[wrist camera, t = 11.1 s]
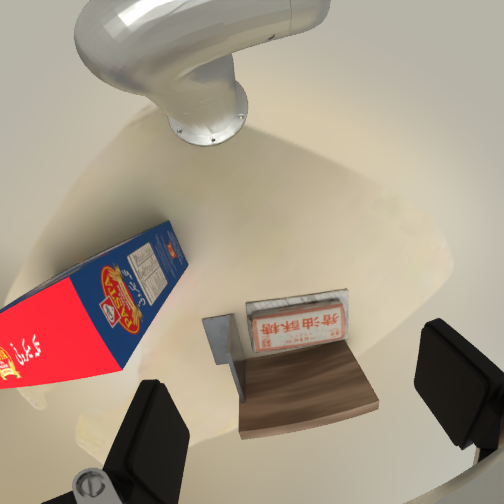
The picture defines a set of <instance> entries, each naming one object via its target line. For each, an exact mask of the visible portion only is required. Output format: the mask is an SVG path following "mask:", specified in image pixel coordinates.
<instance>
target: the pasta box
mask: <svg viewBox="0 0 504 504" xmlns="http://www.w3.org/2000/svg"><path fill="white" fill-rule="evenodd" d="M187 267H188V263H187V261H186V259H185V256H184V254H183V252H182V250H181V247H180V245H179V243H178V240H177V238H176V236H175V233H174V231H173V229H172V226H171V224H170V221H167V222H164V223H162V224H160V225H158V226H155V227H153V228H151V229H149V230H147V231H144V232H142V233H140V234H138V235H136V236H134V237H131V238H129V239H127V240H125V241H123V242H121V243H119V244H117V245H115V246H112V247H110V248H108V249H106V250H104V251H102V252H100V253H98V254H96V255H94V256H92V257H90V258H88V259H86V260H84V261H82V262H80V263H78V264H77V265H75V266H73V267H71V268H69V269H67V270H65V271H63V272H61V273H59V274H58V275H56V276H54V277H52V278H51V279H49V280H47V281H45V282H44V283H42V284H40V285H39V286H37V287H35V288H34V289H32V290H31V291H29V292H27V293H26V294H24V295H22V296H21V297H19V298H18V299H16V300H15V301H13V302H11V303H10V304H8V305H7V306H5V307H4V308H2V309H1V310H0V389H4V388H15V387H25V386H34V385H42V384H49V383H56V382H63V381H69V380H75V379H81V378H87V377H92V376H97V375H102V374H107V373H112V372H117V371H122V370H123V368H124V367H125V365H126V363H127V362H128V360H129V358H130V357H131V355H132V353H133V351H134V350H135V348H136V347H137V345H138V343H139V342H140V340H141V338H142V337H143V335H144V334H145V332H146V330H147V329H148V327H149V326H150V324H151V322H152V321H153V319H154V318H155V316H156V314H157V313H158V311H159V310H160V308H161V307H162V305H163V303H164V302H165V300H166V299H167V297H168V296H169V294H170V293H171V291H172V290H173V288H174V287H175V285H176V283H177V282H178V280H179V279H180V277H181V276H182V274H183V273H184V271H185V270H186V268H187Z"/></svg>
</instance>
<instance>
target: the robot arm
mask: <svg viewBox="0 0 504 504" xmlns="http://www.w3.org/2000/svg"><path fill="white" fill-rule="evenodd" d="M330 1H331V0H90V1H89V2H88V3H87V4H86V5H85V6H84V8H83V9H82V11H81V13H80V14H79V16H78V18H77V21H76V24H75V29H74V40H75V45H76V49H77V52H78V54H79V56H80V58H81V60H82V61H83V63H84V64H85V66H86V67H87V68H88V69H89V70H90V71H91V72H92V73H93V74H94V75H95V76H96V77H98V78H99V79H100V80H102V81H103V82H105V83H107V84H109V85H111V86H113V87H115V88H117V89H119V90H122V91H125V92H129V93H133V94H136V95H141V96H145V97H147V98H149V99H150V100H151V101H153V102H154V103H155V104H156V105H157V106H158V107H160V108H161V109H162V110H163V111H164V112H166V113H167V116H168V121H169V124H170V126H171V128H172V130H173V131H174V132H175V133H176V135H177V136H178V137H180V138H181V139H182V140H184V141H186V142H187V143H190V144H193V145H197V146H214V145H218V144H221V143H223V142H225V141H227V140H229V139H231V138H232V137H233V136H234V135H235V134H237V132H238V131H239V130H240V129H241V128H242V126H243V124H244V122H245V120H246V117H247V113H248V100H247V96H246V93H245V92H244V89H243V88H242V86H241V85H240V84H239V83H238V82H237V81H236V80H235V74H234V65H233V58H232V54H231V53H233V52H236V51H239V50H242V49H245V48H248V47H251V46H255V45H258V44H261V43H265V42H268V41H272V40H276V39H280V38H284V37H287V36H291V35H295V34H299V33H302V32H305V31H308V30H311V29H313V28H315V27H316V26H318V25H319V24H321V23H322V22H323V20H324V19H325V18H326V16H327V14H328V11H329V8H330ZM240 116H242V117H243V118H242V119H240V118H239V117H240ZM180 130H182V132H181V133H180ZM213 139H215V142H212V140H213ZM414 386H415V389H416V390H417V392H418V393H419V395H420V396H421V397H422V399H423V400H424V402H425V403H426V404H427V406H428V407H429V409H430V410H431V412H432V413H433V414H434V416H435V417H436V419H437V420H438V422H439V423H440V425H441V426H442V427H443V429H444V430H445V432H446V433H447V434H448V436H449V438H450V439H451V441H452V442H453V444H454V445H455V446H459V447H460V448H461V450H464V449H465V448H466V447H468V446H470V445H471V444H473V443H474V444H475V446H476V452H475V457H474V462H473V466H472V467H471V468H469V469H468V470H466V471H465V472H463V473H461V474H460V475H458V476H457V477H455V478H453V479H452V480H450V481H448V482H446V483H444V484H443V485H441V486H439V487H437V488H435V489H433V490H431V491H429V492H427V493H425V494H423V495H421V496H419V497H417V498H415V499H413V500H410V501H408V502H406V503H404V504H504V372H503V371H501V370H500V369H499V368H498V367H497V366H496V365H495V364H494V363H493V362H492V361H490V360H489V359H488V358H487V357H486V356H485V355H484V354H483V353H481V352H480V351H479V350H478V349H477V348H476V347H474V346H473V345H472V344H471V343H470V342H468V341H467V340H466V339H465V338H464V337H463V336H462V335H460V334H459V333H458V332H457V331H456V330H454V329H453V328H452V327H451V326H450V325H448V324H447V323H446V322H445V321H443V320H442V319H440V318H437V319H434V320H432V321H429V322H427V323H426V324H425V326H424V328H423V329H422V331H421V339H420V346H419V354H418V360H417V366H416V373H415V378H414ZM189 439H190V434H189V430H188V428H187V426H186V424H185V423H184V421H183V419H182V417H181V415H180V413H179V411H178V410H177V408H176V406H175V404H174V402H173V400H172V398H171V396H170V394H169V392H168V390H167V388H166V386H165V384H164V383H160V381H159V380H157V379H154V380H142V381H141V383H140V385H139V387H138V389H137V391H136V393H135V396H134V398H133V400H132V402H131V404H130V406H129V409H128V411H127V413H126V415H125V417H124V420H123V422H122V424H121V426H120V429H119V431H118V433H117V436H116V438H115V440H114V442H113V445H112V447H111V449H110V452H109V454H108V457H107V459H106V461H105V464H104V467H103V469H102V470H101V469H98V468H88V469H84V470H82V471H81V472H79V473H78V474H77V475H76V476H75V478H74V480H73V484H72V488H73V491H70V492H68V493H66V494H63V495H61V496H58V497H56V498H54V499H51V500H49V501H46V502H43V503H41V504H178V500H179V494H180V489H181V483H182V477H183V472H184V466H185V460H186V455H187V450H188V444H189Z"/></svg>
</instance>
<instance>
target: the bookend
mask: <svg viewBox="0 0 504 504" xmlns="http://www.w3.org/2000/svg"><path fill="white" fill-rule="evenodd" d="M202 322H203V325H204V329H205V332H206V335H207V338H208V341H209V344H210V347H211V350H212V353H213V356H214V359H215V362H216V365H220V364H228V363H229V366H230V369H231V372H232V375H233V378H234V382H235V385H236V388H237V391H238V394H239V397H240V400H241V403H246V386H245V356H244V352H243V348H242V345H241V341H240V337H239V333H238V330H237V326H236V322H235V318H234V314H229V315H223V316H217V317H211V318H205V319H202Z"/></svg>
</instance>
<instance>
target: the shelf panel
mask: <svg viewBox="0 0 504 504" xmlns="http://www.w3.org/2000/svg"><path fill="white" fill-rule="evenodd" d="M245 386H246V403H241V400H240V397H239V434H240V436H241V439H242V440H243V439H252V438H260V437H267V436H273V435H280V434H285V433H291V432H296V431H301V430H306V429H310V428H315V427H319V426H323V425H327V424H331V423H334V422H338V421H342V420H345V419H349V418H353V417H356V416H359V415H362V414H365V413H369V412H372V411H374V410H377V409H378V406H379V399H378V398H377V396H376V394H375V392H374V390H373V388H372V387H371V385H370V383H369V381H368V380H367V378H366V376H365V374H364V372H363V371H362V369H361V367H360V365H359V364H358V362H357V360H356V359H355V357H354V355H353V353H352V352H351V350H350V348H349V346H348V345H347V343H346V341H345V340H339V341H334V342H328V343H324V344H320V345H315V346H311V347H307V348H302V349H297V350H293V351H288V352H283V353H278V354H273V355H267V356H262V357H256V358H250V359H245Z"/></svg>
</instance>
